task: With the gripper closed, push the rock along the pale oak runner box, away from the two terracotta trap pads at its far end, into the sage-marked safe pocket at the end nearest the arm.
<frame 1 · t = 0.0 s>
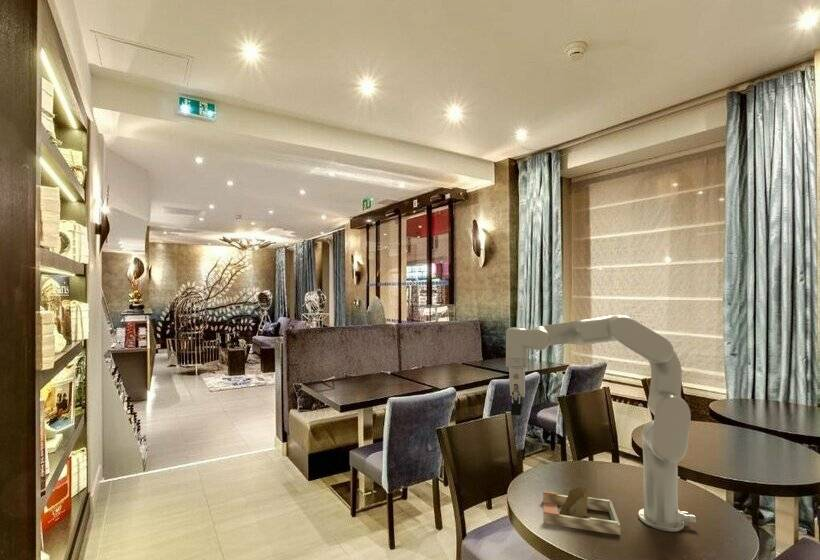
hand: (516, 411, 149), 31 cm above the table, tool pointing down, fingers open, 9 cm apart
runner box: (578, 516, 138), on the table
trap pads: (550, 507, 141), on the table
rock: (572, 516, 139), on the table, touching trap pads
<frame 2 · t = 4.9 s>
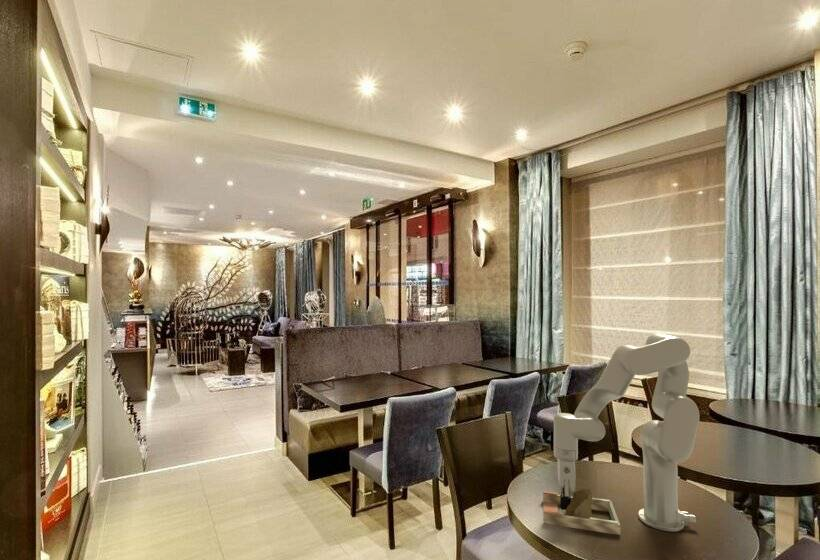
hand: (565, 508, 139), 2 cm above the table, tool pointing down, fingers closed
rock: (577, 518, 138), on the table
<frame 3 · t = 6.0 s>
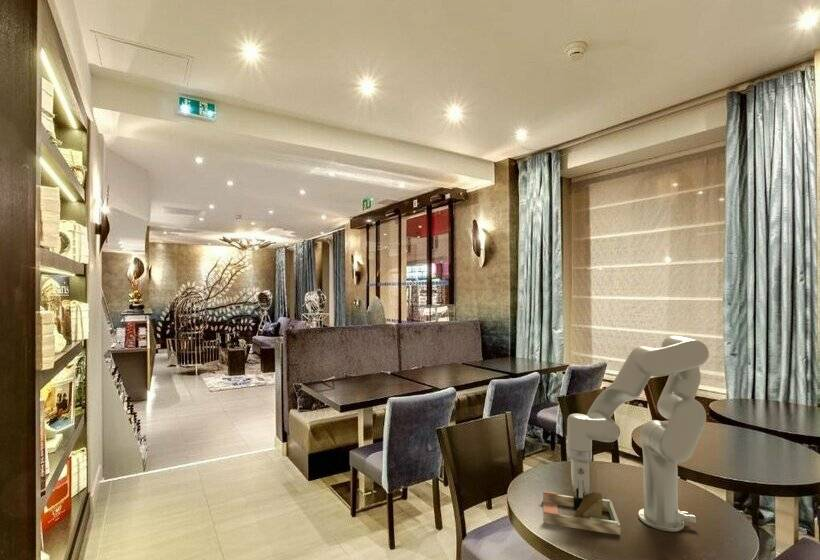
hand: (579, 509, 138), 2 cm above the table, tool pointing down, fingers closed
rock: (587, 521, 135), on the table, touching gripper
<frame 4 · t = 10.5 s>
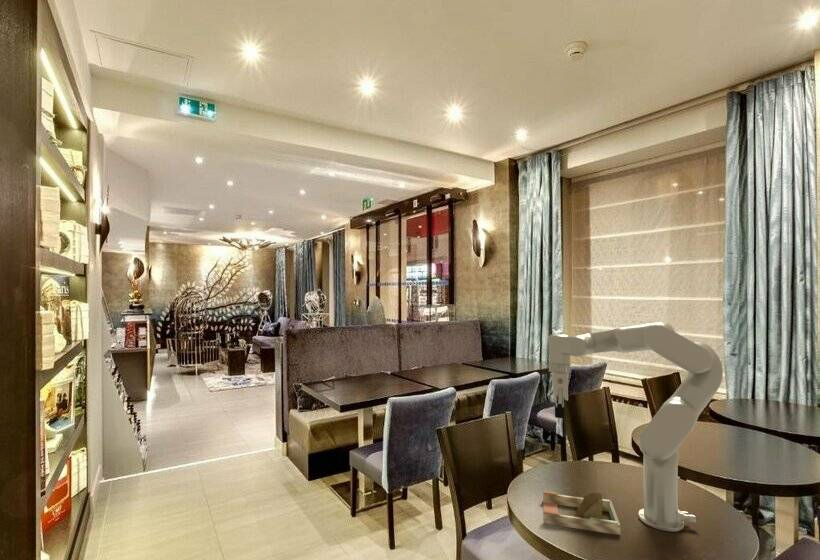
hand: (559, 417, 157), 27 cm above the table, tool pointing down, fingers closed
rock: (587, 522, 135), on the table
at the end: rock inside the target area (4.0 cm from its centre), on the table; rock tilted 0° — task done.
